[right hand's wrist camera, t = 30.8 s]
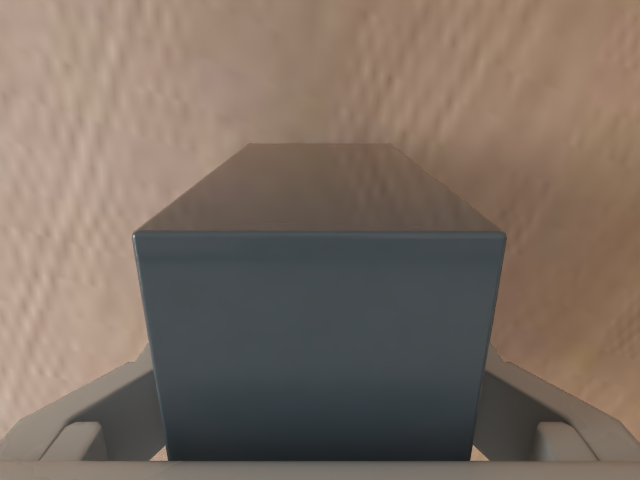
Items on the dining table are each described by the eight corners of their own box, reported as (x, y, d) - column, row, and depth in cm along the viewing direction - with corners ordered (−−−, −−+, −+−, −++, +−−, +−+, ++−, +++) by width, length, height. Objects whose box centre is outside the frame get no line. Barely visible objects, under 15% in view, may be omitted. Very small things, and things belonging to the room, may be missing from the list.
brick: (260, 380, 16) (201, 674, 8) (247, 143, 13) (127, 232, 5) (378, 380, 16) (436, 674, 8) (392, 143, 13) (510, 233, 5)
